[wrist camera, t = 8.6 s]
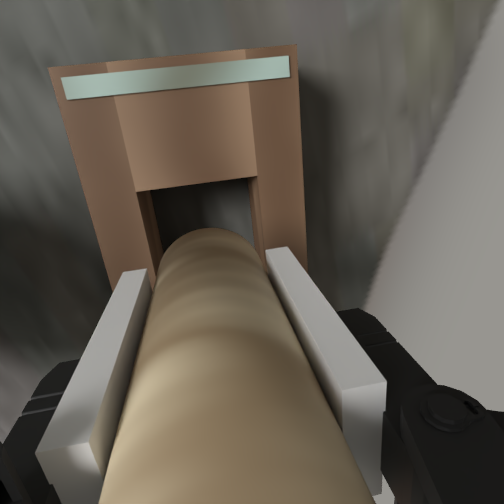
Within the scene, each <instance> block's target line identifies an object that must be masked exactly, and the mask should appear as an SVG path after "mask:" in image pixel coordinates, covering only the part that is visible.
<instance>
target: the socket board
mask: <svg viewBox="0 0 504 504" xmlns="http://www.w3.org/2000/svg"><path fill="white" fill-rule="evenodd" d="M48 70H49V74H50V77H51V80H52V84H53V87H54V91H55V94H56V98H57V101H58V105H59V108H60V112H61V115H62V118H63V122H64V125H65V129H66V132H67V136H68V139H69V143H70V146H71V150H72V153H73V157H74V160H75V163H76V167H77V170H78V174H79V177H80V181H81V184H82V188H83V191H84V195H85V198H86V201H87V205H88V208H89V212H90V215H91V219H92V222H93V226H94V229H95V233H96V236H97V239H98V243H99V246H100V250H101V253H102V257H103V260H104V264H105V267H106V271H107V274H108V278H109V281H110V284H111V288H112V291H113V292H114V290H115V288H116V286H117V283H118V281H119V279H120V277H121V275H122V273H123V272H127V271H133V270H140V269H146V268H147V271H148V275H149V279H150V283H151V288H152V292H153V288H154V284H155V280H156V276H157V273H158V269H159V265H160V262H161V259H162V257H163V255H164V253H163V248H162V243H161V239H160V234H159V230H158V225H157V220H156V216H155V211H154V207H153V202H152V197H151V193H150V190H154V189H161V188H169V187H176V186H184V185H191V184H199V183H206V182H214V181H221V180H229V179H237V178H244V177H247V180H248V189H249V198H250V208H251V217H252V226H253V235H254V244H255V250H256V252H257V254H258V256H259V258H260V260H261V262H262V264H263V266H264V268H265V270H266V273H267V275H268V272H267V261H266V251H265V250H268V249H274V248H281V247H288V248H289V250H290V251H291V252H292V254H293V255H294V256H295V258H296V259H297V260H298V262H299V263H300V264H301V266H302V267H303V269H304V270H305V271H306V273H307V274H308V263H307V243H306V223H305V202H304V182H303V162H302V142H301V122H300V102H299V82H298V62H297V44H295V45H284V46H273V47H263V48H252V49H241V50H230V51H220V52H209V53H198V54H188V55H177V56H166V57H155V58H145V59H134V60H123V61H113V62H102V63H91V64H80V65H70V66H59V67H48Z"/></svg>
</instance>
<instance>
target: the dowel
mask: <svg viewBox="0 0 504 504" xmlns="http://www.w3.org/2000/svg"><path fill="white" fill-rule="evenodd" d="M98 504H376V503H375V501H374V499H373V497H372V495H371V492H370V490H369V488H368V486H367V484H366V482H365V480H364V478H363V476H362V473H361V471H360V469H359V467H358V465H357V463H356V461H355V459H354V457H353V454H352V452H351V450H350V448H349V446H348V444H347V442H346V440H345V438H344V435H343V433H342V431H341V429H340V427H339V425H338V423H337V421H336V418H335V416H334V414H333V412H332V410H331V408H330V406H329V404H328V402H327V399H326V397H325V395H324V393H323V391H322V389H321V387H320V385H319V383H318V380H317V378H316V376H315V374H314V372H313V370H312V368H311V366H310V363H309V361H308V359H307V357H306V355H305V353H304V351H303V349H302V347H301V344H300V342H299V340H298V338H297V336H296V334H295V332H294V330H293V328H292V325H291V323H290V321H289V319H288V317H287V315H286V313H285V311H284V309H283V306H282V304H281V302H280V300H279V298H278V296H277V294H276V292H275V289H274V287H273V285H272V283H271V281H270V279H269V277H268V275H267V273H266V270H265V268H264V266H263V264H262V262H261V260H260V258H259V256H258V254H257V252H256V250H255V249H254V247H253V246H252V245H251V244H250V243H249V242H248V241H247V240H246V239H244V238H243V237H242V236H240V235H238V234H236V233H234V232H232V231H229V230H226V229H220V228H203V229H198V230H194V231H192V232H189V233H187V234H185V235H183V236H181V237H180V238H178V239H177V240H176V241H175V242H173V243H172V244H171V245H170V247H169V248H168V249H167V250H166V252H165V253H164V255H163V257H162V259H161V262H160V265H159V269H158V273H157V276H156V280H155V284H154V288H153V292H152V296H151V300H150V304H149V308H148V312H147V316H146V319H145V323H144V327H143V331H142V335H141V339H140V343H139V347H138V351H137V355H136V358H135V362H134V366H133V370H132V374H131V378H130V382H129V386H128V390H127V394H126V398H125V401H124V405H123V409H122V413H121V417H120V421H119V425H118V429H117V433H116V437H115V440H114V444H113V448H112V452H111V456H110V460H109V464H108V468H107V472H106V476H105V480H104V483H103V487H102V491H101V495H100V499H99V503H98Z"/></svg>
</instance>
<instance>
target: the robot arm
mask: <svg viewBox="0 0 504 504" xmlns="http://www.w3.org/2000/svg"><path fill="white" fill-rule="evenodd" d="M265 251H266V261H267V272H268V277H269V279H270V281H271V283H272V285H273V287H274V289H275V292H276V294H277V296H278V298H279V300H280V302H281V304H282V306H283V309H284V311H285V313H286V315H287V317H288V319H289V321H290V323H291V325H292V328H293V330H294V332H295V334H296V336H297V338H298V340H299V342H300V344H301V347H302V349H303V351H304V353H305V355H306V357H307V359H308V361H309V363H310V366H311V368H312V370H313V372H314V374H315V376H316V378H317V380H318V383H319V385H320V387H321V389H322V391H323V393H324V395H325V397H326V399H327V402H328V404H329V406H330V408H331V410H332V412H333V414H334V416H335V418H336V421H337V423H338V425H339V427H340V429H341V431H342V433H343V435H344V438H345V440H346V442H347V444H348V446H349V448H350V450H351V452H352V454H353V457H354V459H355V461H356V463H357V465H358V467H359V469H360V471H361V473H362V476H363V478H364V480H365V482H366V484H367V486H368V488H369V490H370V492H371V495H372V496H374V495H378V494H381V492H382V474H383V475H384V477H385V479H386V481H387V483H388V485H389V487H390V488H391V490H392V492H393V494H394V496H395V501H394V504H504V412H498V411H492V410H486V409H485V408H484V407H483V406H482V405H481V404H480V403H479V402H478V401H477V400H476V399H474V398H472V397H471V396H469V395H467V394H466V393H464V392H462V391H460V390H456V389H454V388H450V387H447V386H444V385H437V384H436V382H435V381H434V380H433V379H432V378H431V377H430V376H429V375H428V374H427V373H426V372H425V371H424V370H423V368H422V367H421V366H420V365H419V364H418V363H417V362H416V361H415V360H414V359H413V358H412V356H411V355H410V354H409V353H408V352H407V351H406V350H405V349H404V348H403V347H402V346H401V345H400V344H399V343H397V342H396V339H395V338H394V337H393V336H392V335H391V334H390V333H389V332H387V331H386V328H385V327H384V326H383V325H382V324H381V323H380V322H379V321H378V320H377V319H376V317H374V316H372V315H370V314H368V313H367V312H365V311H363V310H361V309H359V308H356V309H350V310H344V311H339V312H335V311H334V309H333V308H332V306H331V305H330V304H329V302H328V301H327V300H326V298H325V297H324V296H323V294H322V293H321V292H320V290H319V289H318V287H317V286H316V285H315V283H314V282H313V281H312V279H311V278H310V277H309V275H308V274H307V273H306V271H305V270H304V269H303V267H302V266H301V264H300V263H299V262H298V260H297V259H296V258H295V256H294V255H293V254H292V252H291V251H290V250H289V248H288V247H281V248H274V249H268V250H265ZM151 296H152V288H151V283H150V279H149V275H148V271H147V268H146V269H140V270H133V271H127V272H123V273H122V275H121V277H120V279H119V281H118V283H117V286H116V288H115V290H114V292H113V294H112V296H111V298H110V300H109V302H108V304H107V306H106V308H105V310H104V312H103V314H102V316H101V318H100V320H99V322H98V324H97V327H96V329H95V331H94V333H93V335H92V337H91V339H90V341H89V343H88V345H87V347H86V349H85V351H84V353H83V355H82V357H81V359H78V360H73V361H67V362H62V363H59V364H58V365H57V366H56V367H55V368H54V369H52V370H51V371H50V372H49V373H48V374H47V375H46V376H45V377H44V378H43V379H42V380H41V381H40V383H39V385H38V386H37V388H36V390H35V391H34V393H33V395H32V396H31V401H28V403H27V405H26V406H25V408H24V410H23V411H22V416H21V417H19V418H18V420H17V421H16V423H15V425H14V426H13V428H12V430H11V431H10V433H9V435H8V436H7V438H6V440H5V441H4V443H3V444H2V443H1V442H0V504H98V503H99V499H100V495H101V491H102V487H103V483H104V480H105V476H106V472H107V468H108V464H109V460H110V456H111V452H112V448H113V444H114V440H115V437H116V433H117V429H118V425H119V421H120V417H121V413H122V409H123V405H124V401H125V398H126V394H127V390H128V386H129V382H130V378H131V374H132V370H133V366H134V362H135V358H136V355H137V351H138V347H139V343H140V339H141V335H142V331H143V327H144V323H145V319H146V316H147V312H148V308H149V304H150V300H151Z"/></svg>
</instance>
